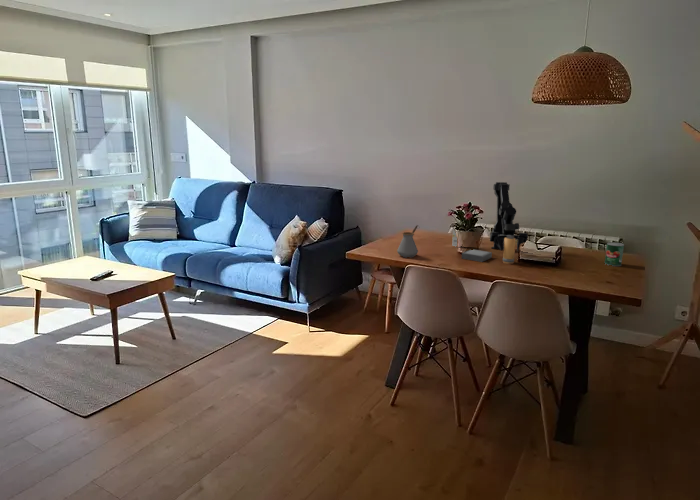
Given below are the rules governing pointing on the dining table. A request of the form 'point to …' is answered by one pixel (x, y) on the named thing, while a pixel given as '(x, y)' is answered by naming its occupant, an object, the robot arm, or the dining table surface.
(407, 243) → the coffee pot
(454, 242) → the ink cartridge box
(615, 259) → the canned tomato
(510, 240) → the housing
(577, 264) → the dining table surface
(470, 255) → the stand
